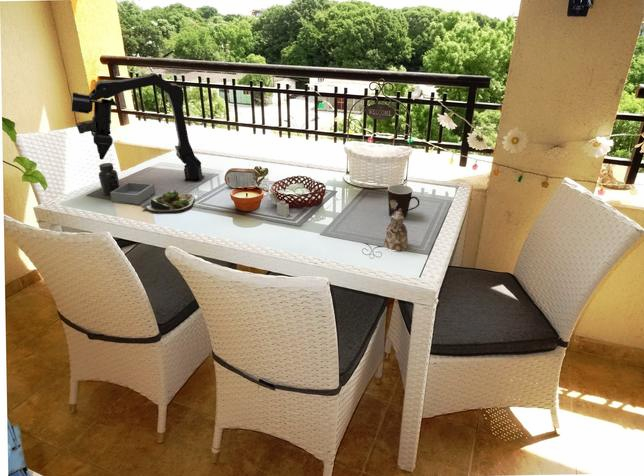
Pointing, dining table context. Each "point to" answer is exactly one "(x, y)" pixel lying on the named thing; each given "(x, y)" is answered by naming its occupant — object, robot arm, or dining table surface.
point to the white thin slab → (280, 205)
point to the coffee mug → (400, 199)
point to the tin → (240, 178)
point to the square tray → (132, 193)
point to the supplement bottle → (108, 178)
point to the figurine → (396, 232)
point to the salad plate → (170, 203)
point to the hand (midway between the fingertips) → (100, 156)
